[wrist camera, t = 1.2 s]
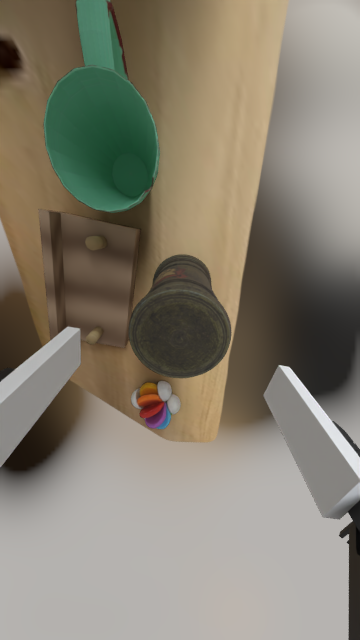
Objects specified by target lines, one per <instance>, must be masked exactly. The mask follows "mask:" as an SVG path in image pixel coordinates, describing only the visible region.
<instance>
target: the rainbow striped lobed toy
mask: <svg viewBox="0 0 360 640" xmlns="http://www.w3.org/2000/svg"><path fill="white" fill-rule="evenodd" d="M131 402H132V404H133V406H134V407H136V408H138V409H142V410H141V411H140V417H142V418H144V419H145V422H146V425H147V426H148V427H150V428H157V429H164V428H166V427H167V426H168V424H169V423H170V420H171V415H172V414H176V413H177V412H178V411H179V409H180V406H181V404H180V400H179V398H178V397H177V396H176V395H174V394H172V389H171V386H170V384H169V383H168V382H166V381H159V382H158V385H156V384H154V383H150V382H148V383H145V384H143V385H142V387H141V388H140V389H139V388H138V389H136V390H135V391H134V392H133V394H132V396H131Z"/></svg>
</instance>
